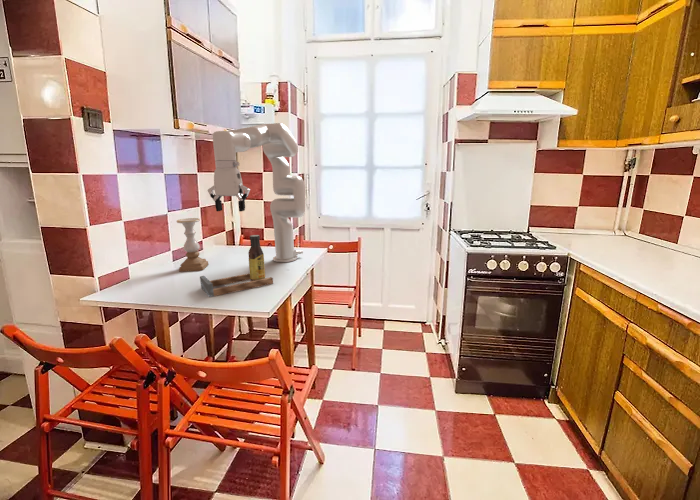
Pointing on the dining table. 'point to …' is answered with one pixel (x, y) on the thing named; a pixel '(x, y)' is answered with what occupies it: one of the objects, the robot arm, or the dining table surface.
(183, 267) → the candle holder
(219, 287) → the wooden u-shaped frame
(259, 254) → the sauce bottle
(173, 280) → the dining table surface
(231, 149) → the robot arm
